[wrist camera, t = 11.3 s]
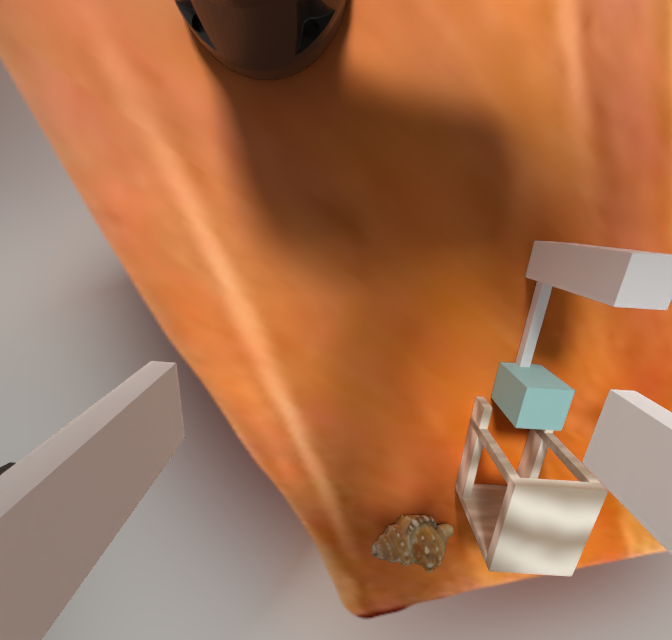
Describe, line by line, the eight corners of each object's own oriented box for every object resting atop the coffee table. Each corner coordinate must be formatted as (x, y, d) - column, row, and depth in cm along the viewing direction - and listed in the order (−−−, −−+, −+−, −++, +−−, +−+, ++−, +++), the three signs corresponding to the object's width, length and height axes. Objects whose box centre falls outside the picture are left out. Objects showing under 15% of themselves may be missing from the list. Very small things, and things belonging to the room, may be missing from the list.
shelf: (475, 396, 40) (523, 460, 29) (546, 400, 40) (618, 466, 29) (454, 487, 45) (489, 571, 34) (518, 491, 44) (571, 576, 34)
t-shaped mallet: (530, 240, 34) (625, 252, 22) (576, 242, 34) (695, 256, 22) (490, 397, 40) (550, 470, 28) (530, 400, 40) (605, 473, 28)
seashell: (395, 529, 52) (371, 582, 43) (393, 485, 50) (368, 530, 42) (454, 551, 47) (440, 616, 38) (454, 503, 46) (439, 558, 37)
